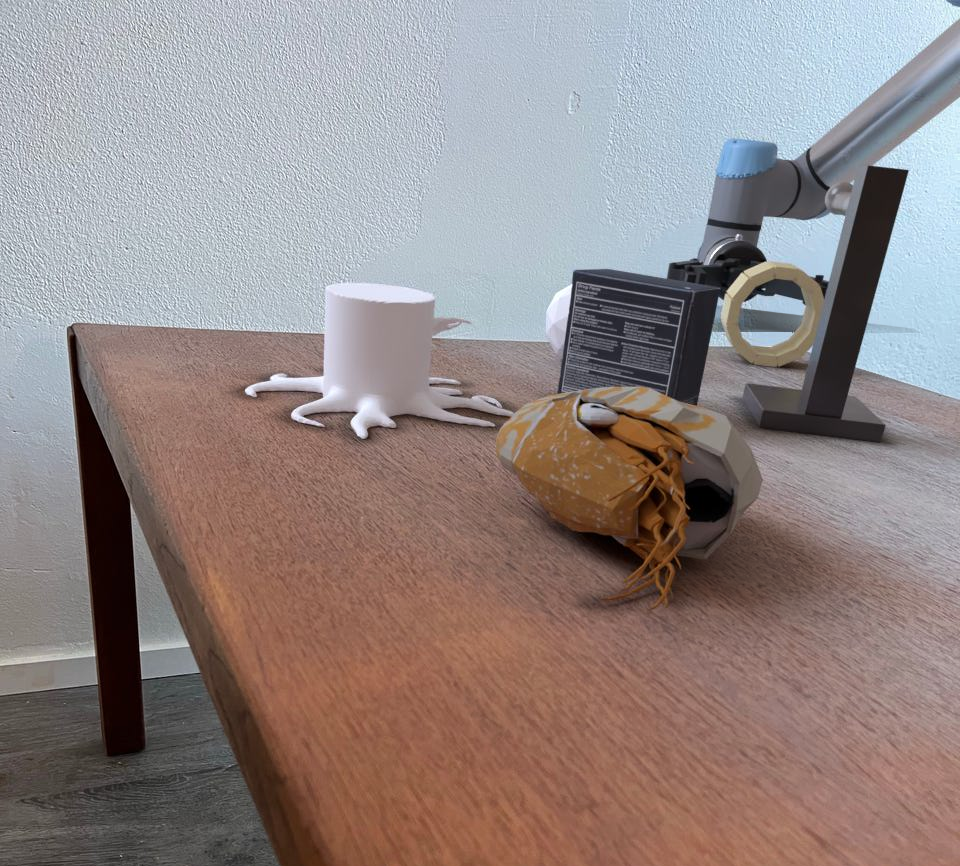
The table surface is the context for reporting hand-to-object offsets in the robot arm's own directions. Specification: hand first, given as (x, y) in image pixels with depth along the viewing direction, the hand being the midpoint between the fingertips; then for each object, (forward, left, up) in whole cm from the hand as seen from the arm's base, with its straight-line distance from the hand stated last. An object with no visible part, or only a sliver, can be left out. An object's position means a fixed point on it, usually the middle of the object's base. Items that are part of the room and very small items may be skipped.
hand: (760, 292), depth 113 cm
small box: (+16, +38, -6) cm, 42 cm away
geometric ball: (+20, +21, -6) cm, 30 cm away
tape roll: (0, +9, -6) cm, 11 cm away
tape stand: (0, +32, -6) cm, 33 cm away
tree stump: (+36, +45, -6) cm, 58 cm away
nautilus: (+18, +70, -6) cm, 73 cm away
